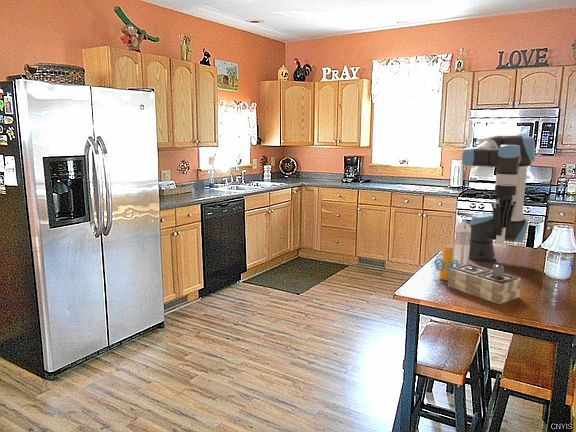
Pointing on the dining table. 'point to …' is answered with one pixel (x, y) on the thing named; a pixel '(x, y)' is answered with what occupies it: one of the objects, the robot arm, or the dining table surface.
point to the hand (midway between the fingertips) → (499, 243)
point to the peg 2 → (498, 271)
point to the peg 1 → (471, 269)
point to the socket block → (484, 284)
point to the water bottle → (462, 243)
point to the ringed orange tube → (446, 263)
